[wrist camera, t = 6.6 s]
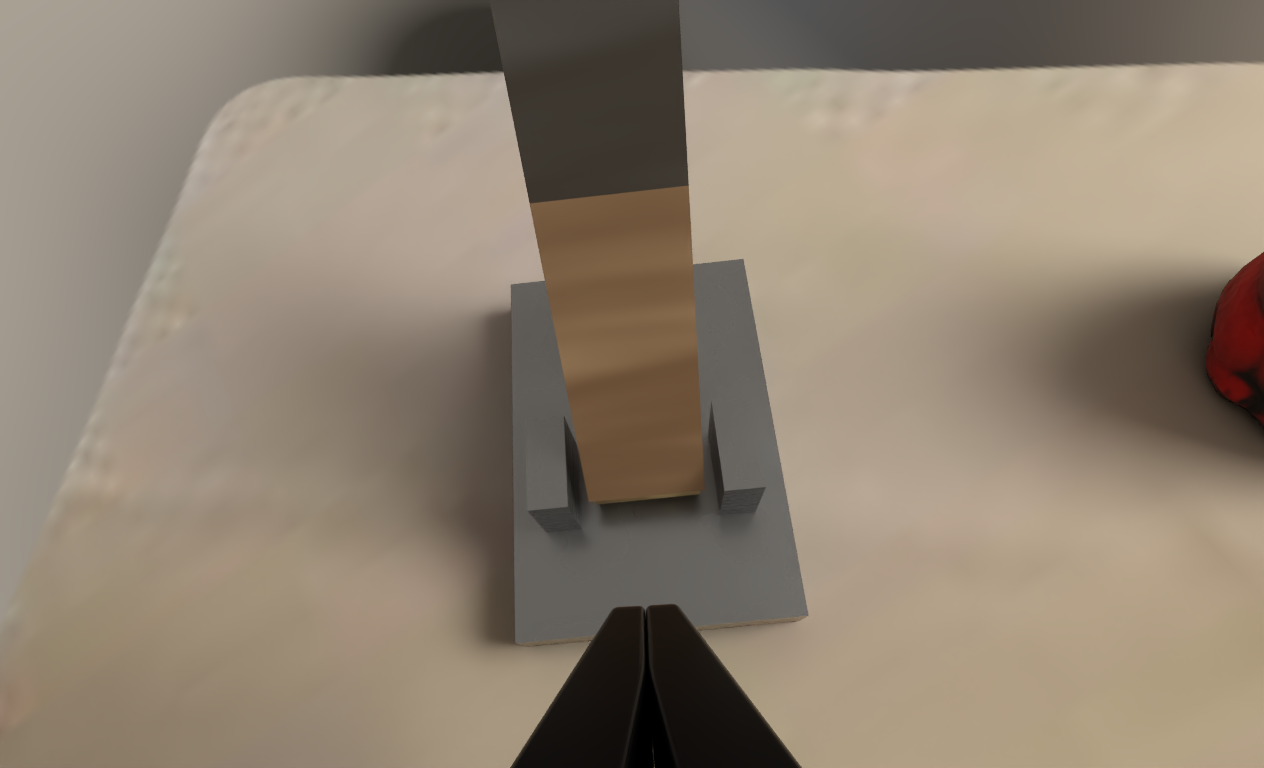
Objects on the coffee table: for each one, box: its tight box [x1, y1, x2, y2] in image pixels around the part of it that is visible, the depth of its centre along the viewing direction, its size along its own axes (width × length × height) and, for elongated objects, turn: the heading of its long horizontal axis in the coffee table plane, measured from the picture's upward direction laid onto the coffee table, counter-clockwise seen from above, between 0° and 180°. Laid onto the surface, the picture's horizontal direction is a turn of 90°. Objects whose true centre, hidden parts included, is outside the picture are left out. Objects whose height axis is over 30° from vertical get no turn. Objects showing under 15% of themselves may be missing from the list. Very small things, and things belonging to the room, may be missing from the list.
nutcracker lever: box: [490, 0, 705, 505], centre depth 15 cm, size 2×3×14 cm, turn 95°
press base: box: [511, 259, 808, 646], centre depth 19 cm, size 11×8×5 cm
